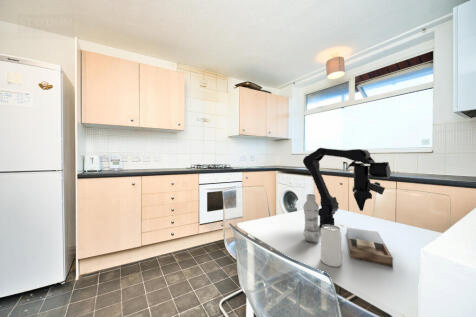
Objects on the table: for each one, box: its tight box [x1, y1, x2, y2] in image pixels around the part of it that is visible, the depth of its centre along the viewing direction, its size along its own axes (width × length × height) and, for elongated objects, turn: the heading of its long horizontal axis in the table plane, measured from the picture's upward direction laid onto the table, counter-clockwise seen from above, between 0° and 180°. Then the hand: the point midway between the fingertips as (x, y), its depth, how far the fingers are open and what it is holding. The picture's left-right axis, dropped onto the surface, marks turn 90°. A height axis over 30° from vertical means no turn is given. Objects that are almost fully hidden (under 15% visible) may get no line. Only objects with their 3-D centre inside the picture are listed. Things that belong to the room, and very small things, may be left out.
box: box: [347, 239, 394, 267], centre depth 69 cm, size 12×11×3 cm
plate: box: [346, 227, 386, 250], centre depth 80 cm, size 12×14×3 cm
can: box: [320, 224, 343, 268], centre depth 64 cm, size 6×6×12 cm
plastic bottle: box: [303, 193, 320, 243], centre depth 81 cm, size 6×7×20 cm
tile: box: [356, 239, 375, 253], centre depth 71 cm, size 6×6×2 cm
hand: (361, 210), depth 86 cm, fingers closed
